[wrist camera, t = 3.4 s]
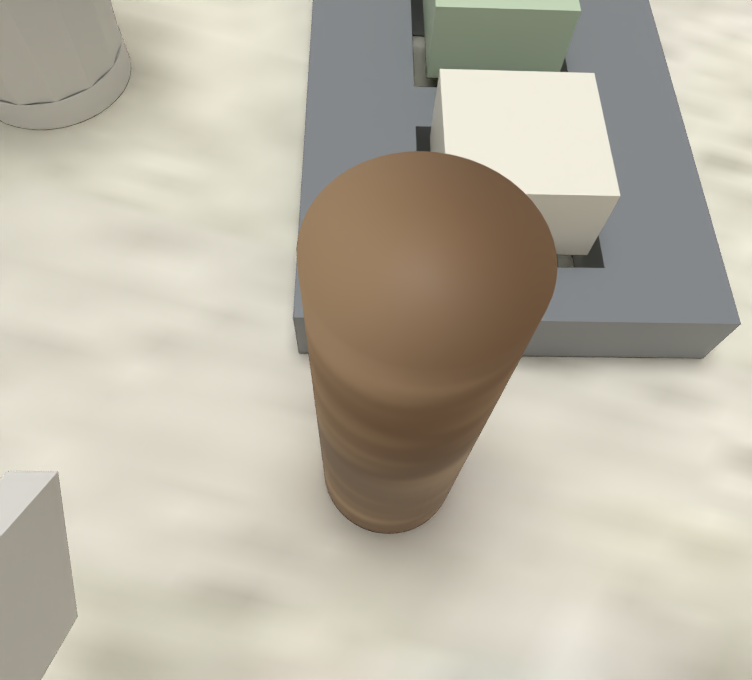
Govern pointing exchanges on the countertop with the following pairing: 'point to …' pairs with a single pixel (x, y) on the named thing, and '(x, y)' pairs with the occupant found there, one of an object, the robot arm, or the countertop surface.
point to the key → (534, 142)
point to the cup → (59, 61)
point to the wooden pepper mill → (415, 323)
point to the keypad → (630, 157)
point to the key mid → (498, 34)
